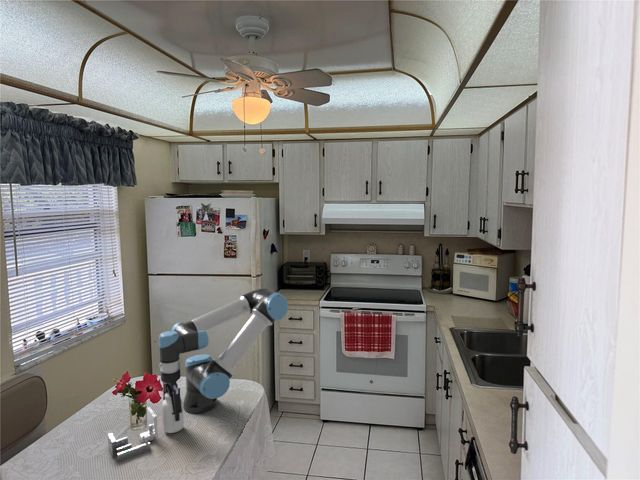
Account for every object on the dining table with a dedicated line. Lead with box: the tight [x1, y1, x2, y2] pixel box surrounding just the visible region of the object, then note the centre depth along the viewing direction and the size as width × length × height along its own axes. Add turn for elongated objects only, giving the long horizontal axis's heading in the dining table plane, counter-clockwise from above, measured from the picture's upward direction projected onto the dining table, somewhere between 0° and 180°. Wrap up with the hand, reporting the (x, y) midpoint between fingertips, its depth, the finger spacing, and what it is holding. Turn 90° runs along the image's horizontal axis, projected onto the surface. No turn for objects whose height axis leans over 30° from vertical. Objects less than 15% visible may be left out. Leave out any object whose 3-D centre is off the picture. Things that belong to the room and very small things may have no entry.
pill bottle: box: [161, 392, 185, 434], centre depth 169 cm, size 8×8×15 cm
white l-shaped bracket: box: [138, 406, 159, 445], centre depth 162 cm, size 5×12×10 cm, turn 38°
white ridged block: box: [107, 432, 152, 462], centre depth 157 cm, size 12×10×6 cm
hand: (173, 422), depth 169 cm, fingers closed on pill bottle, 8 cm apart
